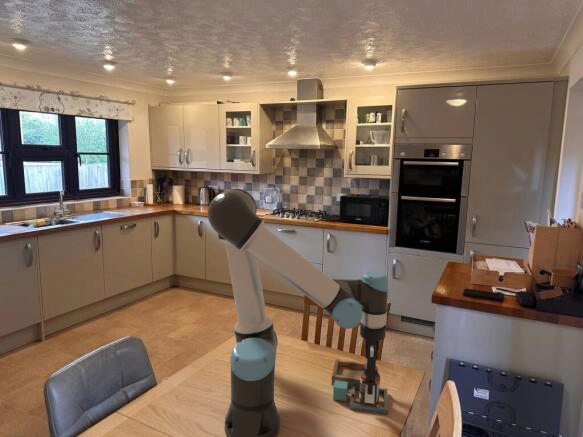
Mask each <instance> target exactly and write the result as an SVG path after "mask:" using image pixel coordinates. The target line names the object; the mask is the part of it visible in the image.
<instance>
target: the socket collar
mask: <svg viewBox="0 0 583 437" xmlns="http://www.w3.org/2000/svg"><path fill="white" fill-rule="evenodd" d="M351 390H355V392H360V385H353V384H352V387H351ZM355 395H356V394H355ZM355 395H354V394H350V400H349V410H353V411H360V412H361V411H362V412H367V413H372V414H373V413H374V414H379V415H380V414H381V415H387V416H388V414H389V402H388V388H383V387H382V388H381V387H380V390H379V395H382V396H383V406H377V405H374V406H371V405H364V404H363V403H355Z"/></svg>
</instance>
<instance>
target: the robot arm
mask: <svg viewBox="0 0 583 437" xmlns="http://www.w3.org/2000/svg"><path fill="white" fill-rule="evenodd" d="M257 207H258V205H257V201H256V200H255V198H254V197H253V195H252V194H251V192H249V191H247V190H244V189H242V188H235V187H234V188H228V189H225V190H223V191H222V192H221V193H219V194H217V195H216V196H215V197H213V199H212V200H211V202H210V203H209V205H208V208H207V219H208V223H209V224H210V226H211V228H212V229H213V230H214V231H215V232H216V233H217V236H218V240H219V241H220V242H222V244H224V245H225V246H224V247H225V251H226V258H227V262H228V269H229V275H230V280H231V286H232V288H231V289H232V293H233V298H234V303H235V304H234V305H235V309H236V310H235V311H236V317H237V322H236V323H235V325H234V327H233V329H234V335H235V336H234V337H235V342H236V343H235V345H234V346H233V348H232V350H231V354H230V359H229V364H230V404H229V407H228V409H227V413H226V415H225V419H224V433H225V435H226V437H277V436H278V434H279V432H280V429H281V416H280V414H279V410H278V409H277V405H276V402H275V373H276V372H275V371H276V370H275V369H276V358H277V350H278V335H277V333H276V330H275V327H274V322H273V319H272V318H271V317H270V316H268V315H267V309H266V303H265V298H264V290H263V284H262V279H261V272H260V266H259V261H260V262H262V264H263V265H265V266H266V267H268V268H269V269H270V270H272V271H273V272H275V274H277V275H279V277H281V278H282V279H284V280H285V281H286V282H288V283H289V284H290V285H291V286H293V287H294V288H295V289H297V290H298V291H299V292H300V293H302V294H303V295H304V296H306V297H307V298H308V299H309V300H312V302H313V303H315V304H316V305H318V306H319V307H320V308H322V310H324V311H325V312H326V313H328V314H329V315H330V316H332V319H333V321H334V322H335V324H336V325H337V326H338V327H340V328H341V329H346V330H349V329H353V328H355V327H357V326H358V325H359V324H360V326H359V335H360V337H361V338H363V339H364V340H365V345H364V347H365V358H366V363H367V375H366V381H364V382H363V383H366V385H365V403H372V404H374V396H375V369H376V366H377V365H376V364H377V361H378V359H379V358H378V356H379V355H378V353H379V347H380V344H379V343H380V341H382V340H384V339H385V338H386V333H387V332H386V330H387V326H386V325H387V317H388V316H387V314H388V311H387V308H388V295H389V278H388V276H387V275H386V274H385V273H383V272H380V271H375V270H372V271H371V270H370V271H366V272H363V274H362V275H361V276H362V277H361V279H360V278H359V279H358V278H357V279H338V278H331V277H329V275H327V274H326V273H325V272H323V271H322V270H321V269H319V268H318V267H317V266H315V265H314V264H313V263H312V262H310V261H309V260H308V259H307V258H305V257H304V256H303V255H302V254H300V253H299V252H298V251H296V250H295V249H294V248H293V247H291V246H290V245H289V244H287V242H285V241H284V240H282V239H281V238H280V237H278V236H277V235H276V234H275V233H273V232H272V231H271V230H269V229H268V228H267V227H266V226H265V222H264V219H262V218H260V216H258V215H257V212H258V211H257V210H258V208H257Z"/></svg>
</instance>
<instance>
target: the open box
mask: <svg viewBox="0 0 583 437" xmlns="http://www.w3.org/2000/svg"><path fill="white" fill-rule="evenodd" d="M366 364H367V362H361V361H354V360H344V359H336V358H335V360H334V365H333V370H332V374H331V385H333V386H334V383H335V380H337V381H344V382H348V387H349V388H352V384H353V385H360V378H361V373H362V371H364V367H365V365H366Z"/></svg>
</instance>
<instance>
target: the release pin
mask: <svg viewBox="0 0 583 437" xmlns="http://www.w3.org/2000/svg"><path fill="white" fill-rule="evenodd" d="M351 394H354V395H356V391H355V390H352V389H348V382H344V381H337V380H335V383H334V385H333V393H332V395H333V396H332V400H336V401H344V402H347V397H348V395H351Z"/></svg>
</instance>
